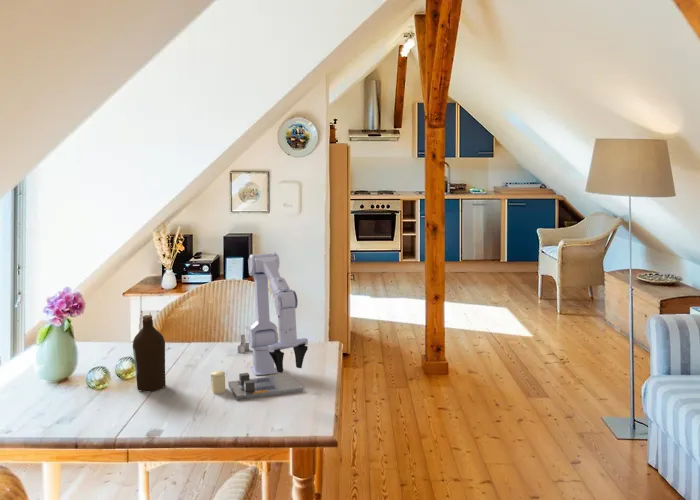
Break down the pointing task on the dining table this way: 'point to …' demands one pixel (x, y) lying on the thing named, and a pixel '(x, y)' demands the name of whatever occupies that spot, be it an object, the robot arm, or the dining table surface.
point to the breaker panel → (266, 387)
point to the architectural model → (243, 345)
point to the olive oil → (149, 357)
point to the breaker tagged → (249, 385)
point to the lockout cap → (218, 381)
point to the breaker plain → (243, 377)
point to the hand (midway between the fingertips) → (289, 370)
